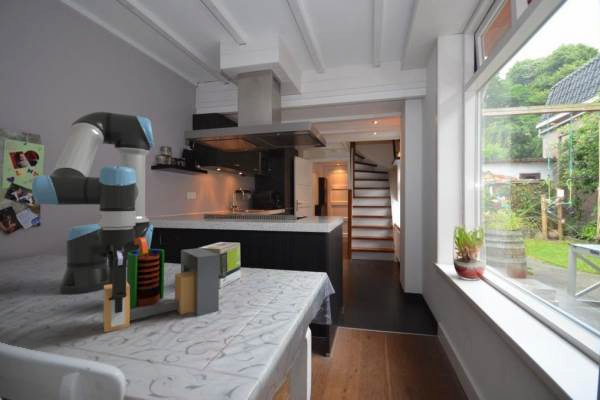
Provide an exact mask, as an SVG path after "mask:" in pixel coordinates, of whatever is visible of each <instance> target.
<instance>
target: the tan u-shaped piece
mask: <svg viewBox="0 0 600 400" xmlns="http://www.w3.org/2000/svg"><path fill="white" fill-rule="evenodd" d="M126 293H127V295H126V297H125V324H122V325H118V326H114V327H111V300H110V301H109V298H111V297H112V284H109V285H104V289H103V310H102V311H103V317H102V318H103V325H102V326H103V331H104V333H108V332H109V333H110V332H113V331H116V330H120V329H124V328H129V327H131V326H130V325H131V324H130V323H131V322H130V321H131V320H135V319H136V320H137V319H140V318H145V317H148V316H149V317H150V316H152V315H153V316H154V315H157V314H161V313H165V312H169V311H175V310H176V311H177V312H178V313H179V314H180V315H183V314H187V313H191V312H194V271H189V272H183V273H181V272H178V273H174V299H173V300H168V301H164V302H163V301H162V302H158V303H156V304H153V305H149V306H144V307H136V308H130V285H129V284H128V282H127V281H126Z"/></svg>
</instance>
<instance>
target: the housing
mask: <svg viewBox="0 0 600 400" xmlns="http://www.w3.org/2000/svg"><path fill="white" fill-rule="evenodd" d="M189 271H194V311H193V314H194V315H195V316H196V317H200V316H201V317H202V316H204V315H208V314H212V313H215V312H219V309H220V308H219V306H220V304H219V299H220V297H219V295H220V288H219V255H218V254H216V253H213V252H210V251H207V250H204V249H201V248H200V247H197V248H188V249H181V250H180V273H183V272H189Z"/></svg>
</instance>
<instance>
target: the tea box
mask: <svg viewBox="0 0 600 400" xmlns="http://www.w3.org/2000/svg"><path fill="white" fill-rule="evenodd" d="M199 248H201V249H204V250H207V251H210V252H213V253H216V254H218V255H219V289H222V288H224V287H225V286H228V285H229V284H231V283H233V282H235V281H237V280H238V279H241V277H242V271H241V269H242V268H241V243H240V242H232V241H231V242H225V241H224V242H223V241H219V242H214V243H211V244H208V245H203V246H201V247H200V246H199Z"/></svg>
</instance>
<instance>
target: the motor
mask: <svg viewBox="0 0 600 400" xmlns="http://www.w3.org/2000/svg"><path fill="white" fill-rule="evenodd" d="M137 244H138V245H139V247H140V250H136V251H131V252H128V257H127V267H126V282H128V284H129V285H130V309H135V308H139V307H144V306H149V305H153V304H158V303H160V299H161V300H162V299H164V297H165V296H164V292H165V290H164V289H165V287H164V286H165V250H164V249H160V248H150V249H148V246H147V241H146V238H145V237H140V238H135V245H137Z"/></svg>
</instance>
